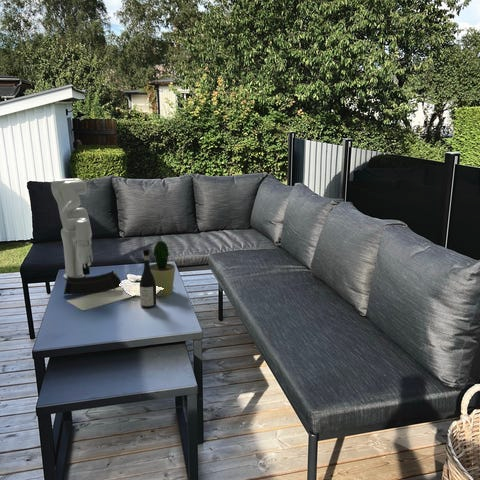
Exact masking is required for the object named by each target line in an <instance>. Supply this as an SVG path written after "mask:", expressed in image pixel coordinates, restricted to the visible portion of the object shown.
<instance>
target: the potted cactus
mask: <svg viewBox="0 0 480 480" xmlns="http://www.w3.org/2000/svg"><path fill="white" fill-rule="evenodd" d="M170 255H171V253H170V252H169V246H168V243H167V242H165V240H164V241H163V240H159V241H156V242H155V245H154V247H153V251H152V256H153V259H154V260H155V263H153V264H149V265H150V270H151V273H152V275H153V277H154V280H155V284H156V286H158V287H162V288H164V289H163V290H160V291H159V292H158V293H157V294H156V297H158V296H159V297H165V296H169V295H172V293H173V289H174V280H175V273H176V266H175V264H172V263H169V260H170V259H169V256H170Z"/></svg>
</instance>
